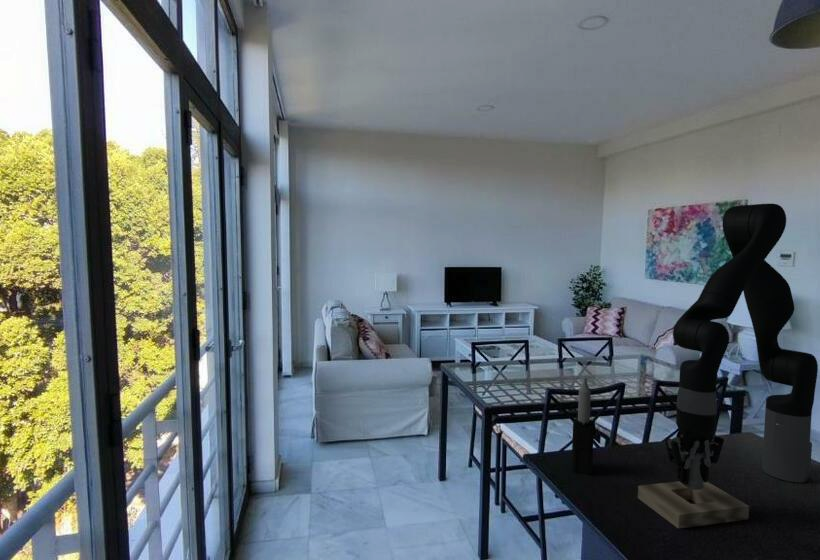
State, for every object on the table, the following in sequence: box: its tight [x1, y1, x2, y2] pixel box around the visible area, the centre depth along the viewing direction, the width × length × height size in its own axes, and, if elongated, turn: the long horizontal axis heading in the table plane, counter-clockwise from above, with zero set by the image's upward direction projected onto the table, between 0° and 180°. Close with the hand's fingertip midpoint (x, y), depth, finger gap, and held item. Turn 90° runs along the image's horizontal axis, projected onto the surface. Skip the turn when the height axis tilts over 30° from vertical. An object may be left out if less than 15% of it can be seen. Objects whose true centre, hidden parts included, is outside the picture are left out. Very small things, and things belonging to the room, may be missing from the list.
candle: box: [570, 377, 595, 476], centre depth 118 cm, size 5×5×25 cm
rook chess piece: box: [682, 451, 704, 490], centre depth 100 cm, size 4×4×8 cm
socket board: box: [637, 480, 750, 529], centre depth 101 cm, size 18×12×3 cm, turn 102°
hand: (692, 481), depth 100 cm, fingers closed on rook chess piece, 4 cm apart
